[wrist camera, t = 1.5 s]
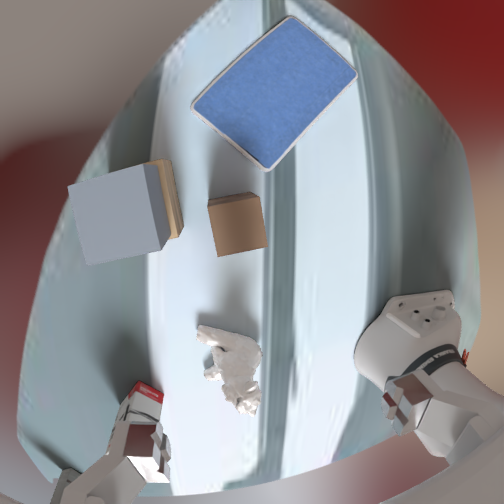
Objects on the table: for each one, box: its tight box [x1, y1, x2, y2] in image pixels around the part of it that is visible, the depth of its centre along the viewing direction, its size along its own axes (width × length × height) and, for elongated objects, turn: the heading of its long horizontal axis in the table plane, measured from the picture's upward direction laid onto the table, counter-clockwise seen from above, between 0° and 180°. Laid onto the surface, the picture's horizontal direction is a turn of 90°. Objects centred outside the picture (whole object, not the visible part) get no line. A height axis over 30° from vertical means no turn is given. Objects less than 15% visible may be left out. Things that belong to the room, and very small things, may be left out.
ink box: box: [105, 381, 164, 455], centre depth 34 cm, size 8×5×12 cm, turn 142°
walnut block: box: [207, 192, 268, 257], centre depth 31 cm, size 5×5×7 cm
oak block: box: [114, 159, 184, 240], centre depth 29 cm, size 8×8×6 cm
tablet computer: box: [190, 17, 358, 172], centre depth 30 cm, size 19×13×1 cm, turn 139°
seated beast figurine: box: [196, 325, 263, 416], centre depth 33 cm, size 10×9×12 cm
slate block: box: [68, 164, 171, 266], centre depth 24 cm, size 7×7×6 cm
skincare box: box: [50, 468, 81, 504], centre depth 39 cm, size 8×7×16 cm
